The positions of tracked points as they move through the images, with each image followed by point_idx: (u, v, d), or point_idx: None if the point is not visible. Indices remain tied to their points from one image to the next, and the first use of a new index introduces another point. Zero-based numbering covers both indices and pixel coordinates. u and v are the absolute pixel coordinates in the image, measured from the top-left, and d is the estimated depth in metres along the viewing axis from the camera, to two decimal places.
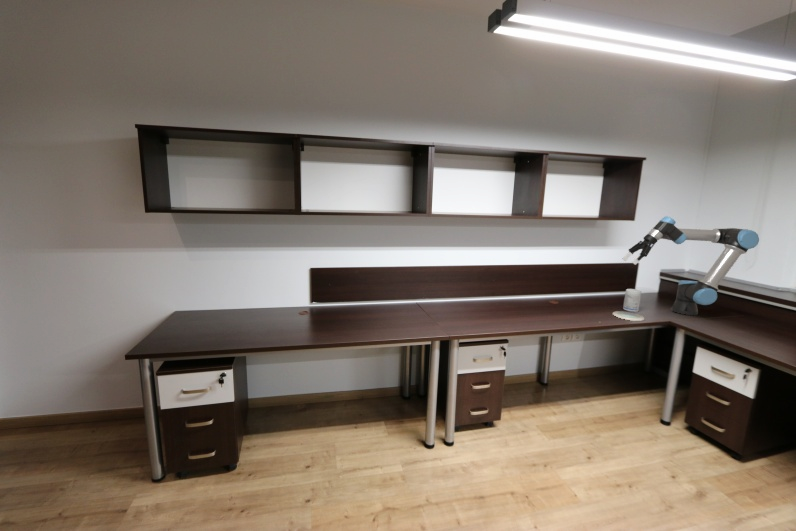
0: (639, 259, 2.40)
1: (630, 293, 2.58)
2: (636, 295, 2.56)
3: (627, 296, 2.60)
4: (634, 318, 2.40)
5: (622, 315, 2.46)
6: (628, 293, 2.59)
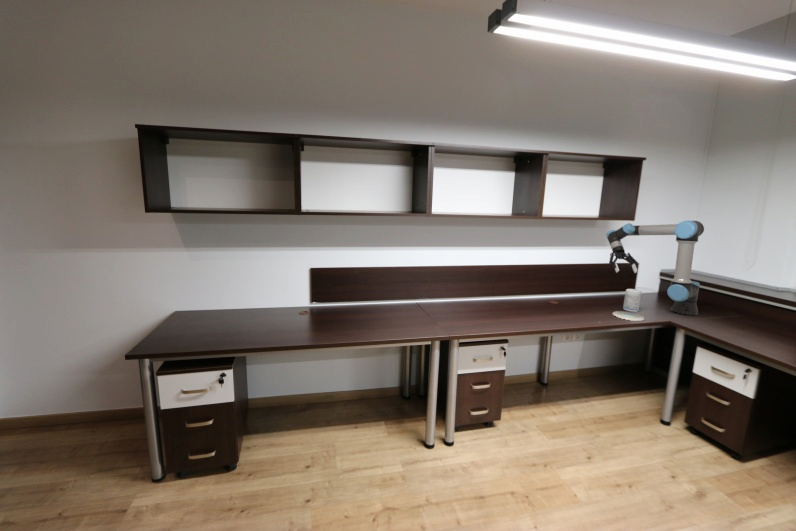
0: (614, 266, 2.70)
1: (630, 293, 2.58)
2: (636, 295, 2.56)
3: (627, 296, 2.60)
4: (634, 318, 2.40)
5: (622, 315, 2.46)
6: (628, 293, 2.59)
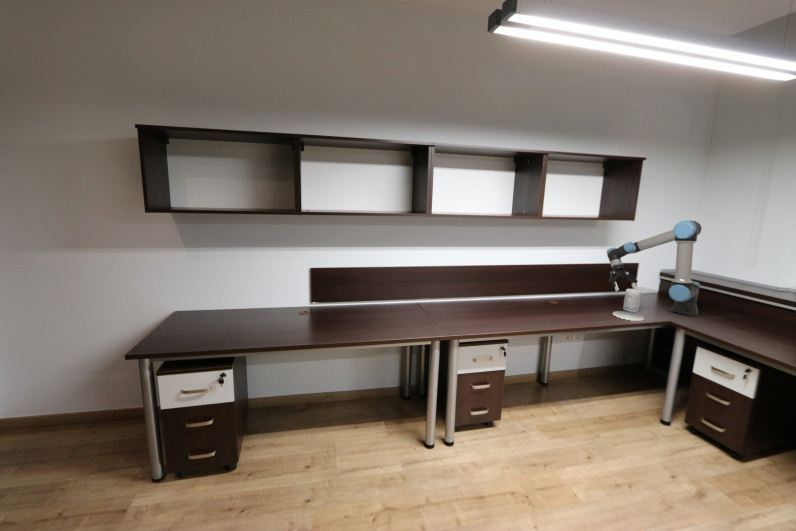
0: (613, 285, 2.69)
1: (630, 293, 2.58)
2: (636, 295, 2.56)
3: (627, 296, 2.60)
4: (634, 318, 2.40)
5: (622, 315, 2.46)
6: (628, 293, 2.59)
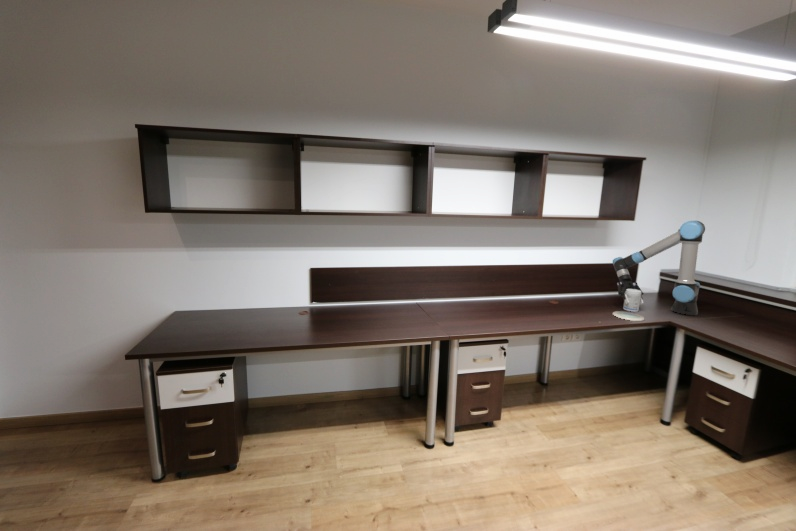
0: (623, 298, 2.61)
1: (630, 293, 2.58)
2: (636, 295, 2.56)
3: (627, 296, 2.60)
4: (634, 318, 2.40)
5: (622, 315, 2.46)
6: (628, 293, 2.59)
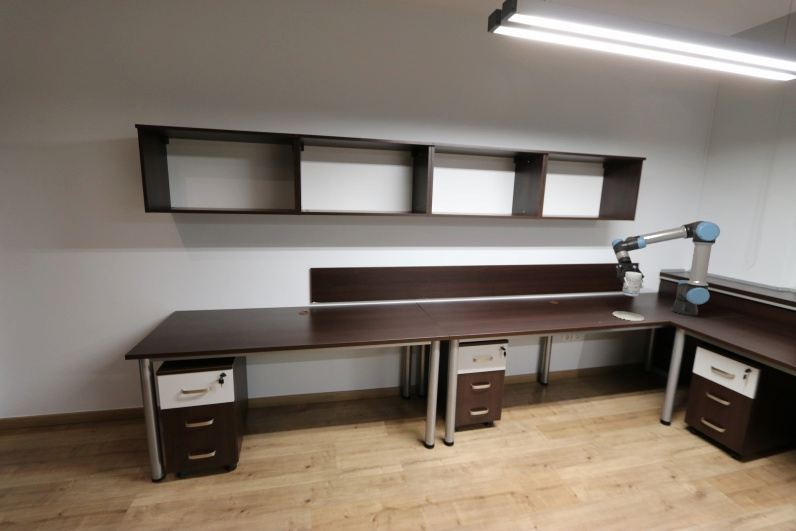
0: (622, 281, 2.43)
1: (630, 275, 2.40)
2: (636, 278, 2.39)
3: (626, 279, 2.42)
4: (634, 318, 2.40)
5: (622, 315, 2.46)
6: (627, 276, 2.42)
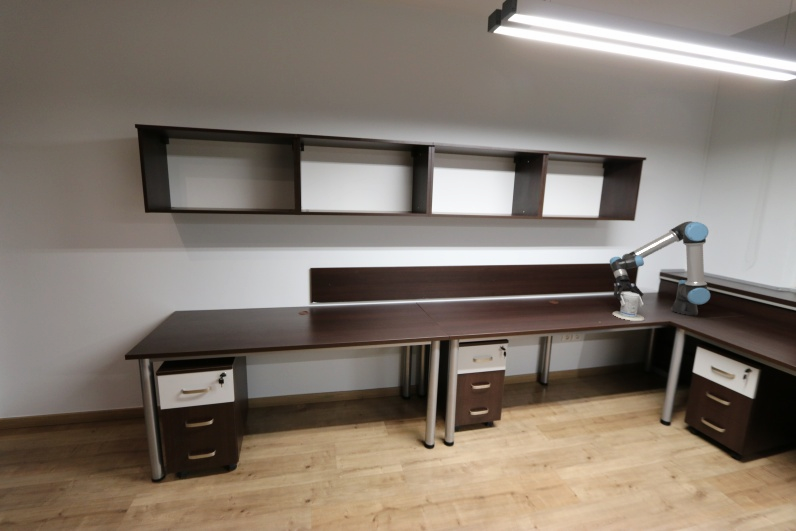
0: (619, 299, 2.45)
1: (627, 296, 2.42)
2: (634, 299, 2.40)
3: (624, 300, 2.44)
4: (634, 318, 2.40)
5: (622, 315, 2.46)
6: (625, 297, 2.43)
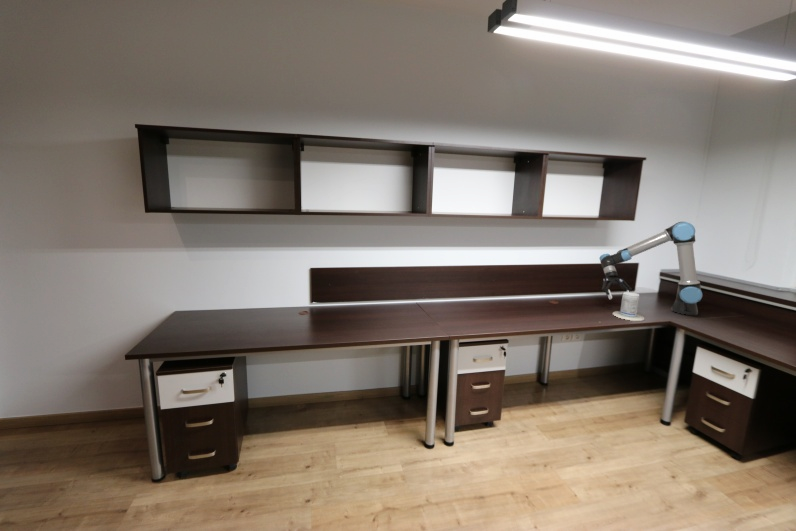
0: (607, 293, 2.58)
1: (627, 296, 2.42)
2: (634, 299, 2.40)
3: (624, 300, 2.44)
4: (634, 318, 2.40)
5: (622, 315, 2.46)
6: (625, 297, 2.43)
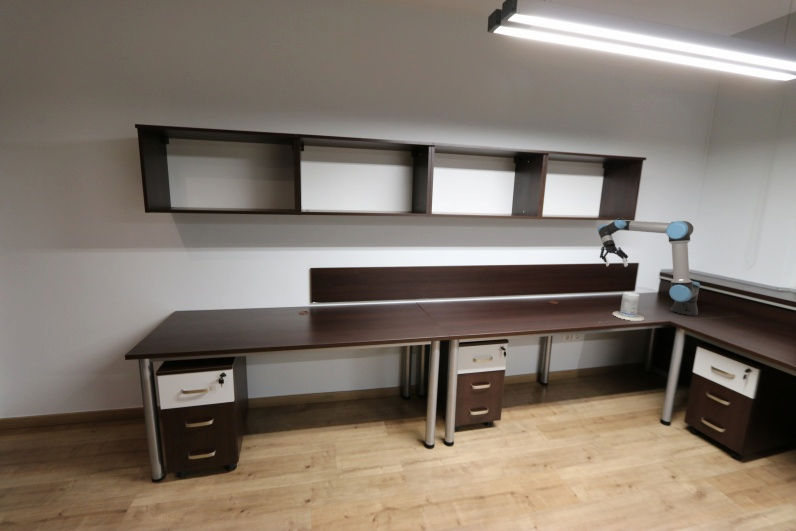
0: (604, 260, 2.72)
1: (627, 296, 2.42)
2: (634, 299, 2.40)
3: (624, 300, 2.44)
4: (634, 318, 2.40)
5: (622, 315, 2.46)
6: (625, 297, 2.43)
